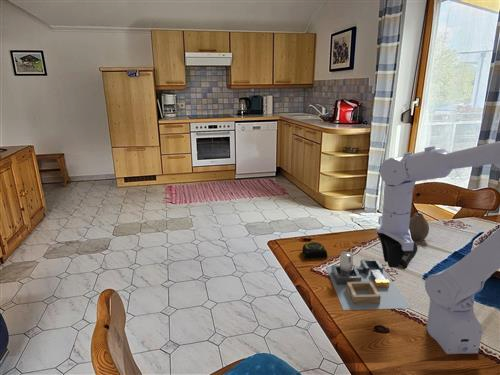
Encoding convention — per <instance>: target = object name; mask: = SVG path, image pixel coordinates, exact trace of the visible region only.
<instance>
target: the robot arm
mask: <svg viewBox="0 0 500 375" xmlns="http://www.w3.org/2000/svg"><path fill="white" fill-rule="evenodd" d="M487 165H493V166H495V167H496V168H497V169H498V170H500V141H495V142H494V141H493V142H490V143H486V144H482V145H481V144H480V145H478V146H473V147H468V148H464V149H460V150H457V151H452V152H450V151H448V150H447V149H445V148H442V147H437V148H436V146H435V145H433V146H428V147H424V151H420V152H413V153H412V152H411V151H410V152H404V154H403V155H402V156H397V157H389V158H388V159H386V160H384V161H383V162H382V163H381V164H380V167H379V168H380V169H379V175H380V177H381V180H382V181H383V183H384V189H383V199H382V202H383V203H382V211H381V212H382V215H378V222H377V223H378V225H379V226H376V227H375V230H376V232H377V233H376V235H377V237H378V239H379V241H380V245H381V249H382V254H383V260H384V262H385V263H387V266H388V267H389V268H390V269H391V268H399V265H400V262H401V260H402V258H403V256H404V254H405V252H406V251H413V247H414V243H415V242H414V240H412V239H411V234H410V229H409V222H410V218H411V212H412V203H413V195H414V193H413V192H414V188H415V187H416V185H415V184H416V182H421V181H428V180H429V181H430V180H435V179H443V178H446V177H448V176H449V175H450V174H451V172H452V171H453V170H458V169H465V168H471V167H472V168H473V167H477V166H478V167H481V166H487ZM499 270H500V227H499V228H498V229H496V230H495V231H494V232H493V233H492V234H491V235H489V236H488V237H486V239H484V240H483V241H482V242H481V243H480V244H478V245H477V246H476V247H474V248H473V250H471V251H470V252H469V253H467V254H466V255H464V257H463V258H461V259H460V260H459V261H457V262H455V263H454V264H453V265H451V266H449V267H447V268H446V269H443V270H441V271H439V272H437V273H434V274H431V275H429V276H428V277H426V279H425V283H424V289H425V291H426V294H427V295H428V297H429V308H428V313H427V314H428V316H427V321H426V331H427V332H428V333H427V334H428V335H429V336H430V337H431V338H432V339H434V340H435V341H436V342H437V344H438V345H439V346H440V347H441V348H442V350H443V351H444V353H445V354H447V355H457V354H458V355H459V354H462V355H463V354H464V355H466V354H469V355H470V354H479V352H480V351H479V350H480V344H481V341H482V340H481V339H482V336H483V335H482V334H483V326H482V324H481V323H480V321H479V320H478V318H477V316H476V313H475V310H474V306H475V294H477V293H479V292H481V291H482V290H483V288H484V285H485V283H486V281H487V280H488V279H489V278H490V277H491V276H492V275H493V274H494V273H496V272H497V271H499Z"/></svg>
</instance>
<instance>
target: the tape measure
mask: <svg viewBox="0 0 500 375" xmlns="http://www.w3.org/2000/svg"><path fill="white" fill-rule="evenodd" d="M302 256H303V257H304V259H305V260H314V259H327V258H328V257H329V256H328V252H327V250H326V248H325V246H324V245H323V244H322V243H320V242H318V241H317V242H316V241H309V242H306V243H304V244H303V245H302Z"/></svg>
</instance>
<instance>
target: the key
mask: <svg viewBox="0 0 500 375" xmlns="http://www.w3.org/2000/svg"><path fill="white" fill-rule="evenodd" d="M370 275H371V277H372V279H373V280H374V282H375V287H376V288H389V283H390V282H389V281H388V279H387V280H386V279H385V278H384V276H383V275H382V273H381V272H380V270H371V273H370Z"/></svg>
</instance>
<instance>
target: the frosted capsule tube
mask: <svg viewBox="0 0 500 375" xmlns="http://www.w3.org/2000/svg"><path fill="white" fill-rule="evenodd" d="M353 262H354V254H353V253H352V252H349V251H342V252H340V260H339V265H340V276H352V269H353V265H354V263H353Z"/></svg>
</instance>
